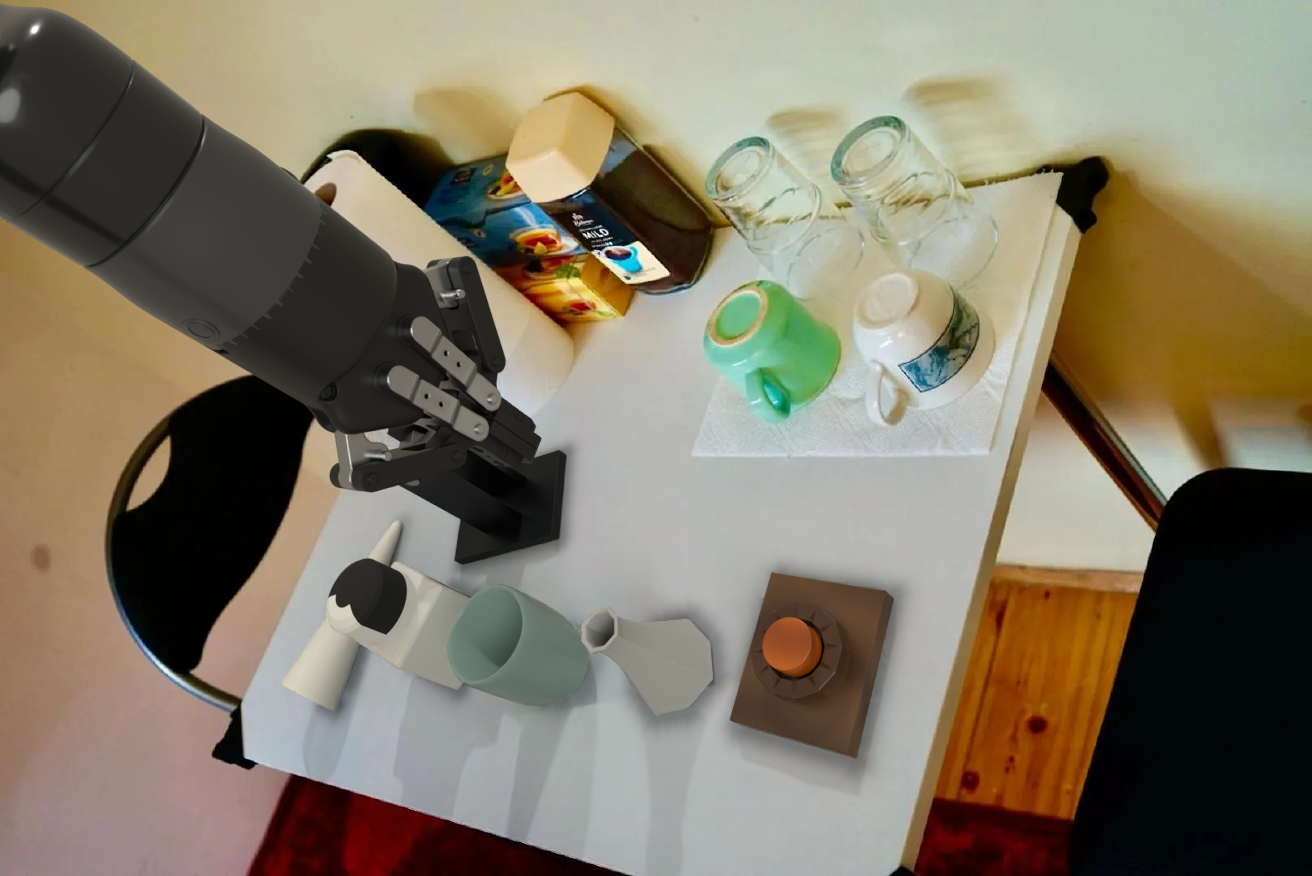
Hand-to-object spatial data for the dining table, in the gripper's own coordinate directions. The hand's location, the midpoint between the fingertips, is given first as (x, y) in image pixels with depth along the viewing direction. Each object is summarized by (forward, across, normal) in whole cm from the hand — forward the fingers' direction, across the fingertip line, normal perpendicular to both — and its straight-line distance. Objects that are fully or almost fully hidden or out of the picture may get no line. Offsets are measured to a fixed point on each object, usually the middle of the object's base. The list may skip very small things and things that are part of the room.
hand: (525, 451), depth 48 cm
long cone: (+27, +8, -43) cm, 52 cm away
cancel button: (+24, +3, +6) cm, 25 cm away
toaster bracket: (+27, -5, -29) cm, 40 cm away
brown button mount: (+27, +3, +6) cm, 28 cm away
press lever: (+13, -7, -24) cm, 28 cm away
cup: (+27, +8, -16) cm, 33 cm away
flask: (+27, +6, -5) cm, 28 cm away
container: (+27, +8, -30) cm, 41 cm away
